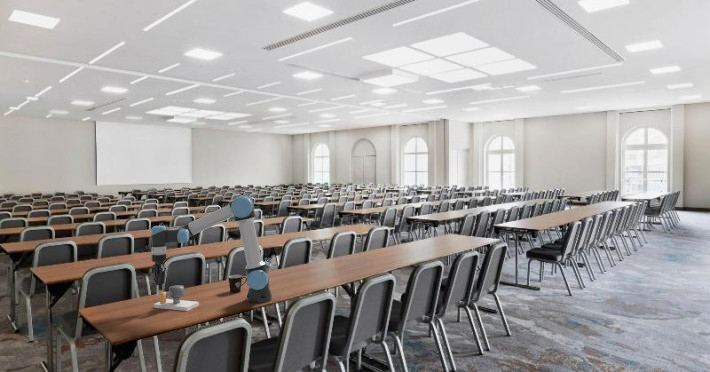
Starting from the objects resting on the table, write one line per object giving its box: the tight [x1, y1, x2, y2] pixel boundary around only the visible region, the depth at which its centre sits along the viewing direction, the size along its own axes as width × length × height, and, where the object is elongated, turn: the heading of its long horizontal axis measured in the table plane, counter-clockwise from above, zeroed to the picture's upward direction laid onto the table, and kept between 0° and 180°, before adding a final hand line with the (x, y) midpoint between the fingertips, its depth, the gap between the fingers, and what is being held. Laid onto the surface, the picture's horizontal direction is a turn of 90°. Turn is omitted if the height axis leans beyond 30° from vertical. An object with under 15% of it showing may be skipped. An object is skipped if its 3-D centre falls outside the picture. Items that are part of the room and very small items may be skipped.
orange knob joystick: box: [159, 284, 185, 304], centre depth 248 cm, size 16×8×6 cm, turn 162°
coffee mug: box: [228, 274, 247, 294], centre depth 284 cm, size 12×9×10 cm
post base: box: [153, 297, 200, 312], centre depth 252 cm, size 22×11×6 cm, turn 74°
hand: (159, 295), depth 245 cm, fingers closed
